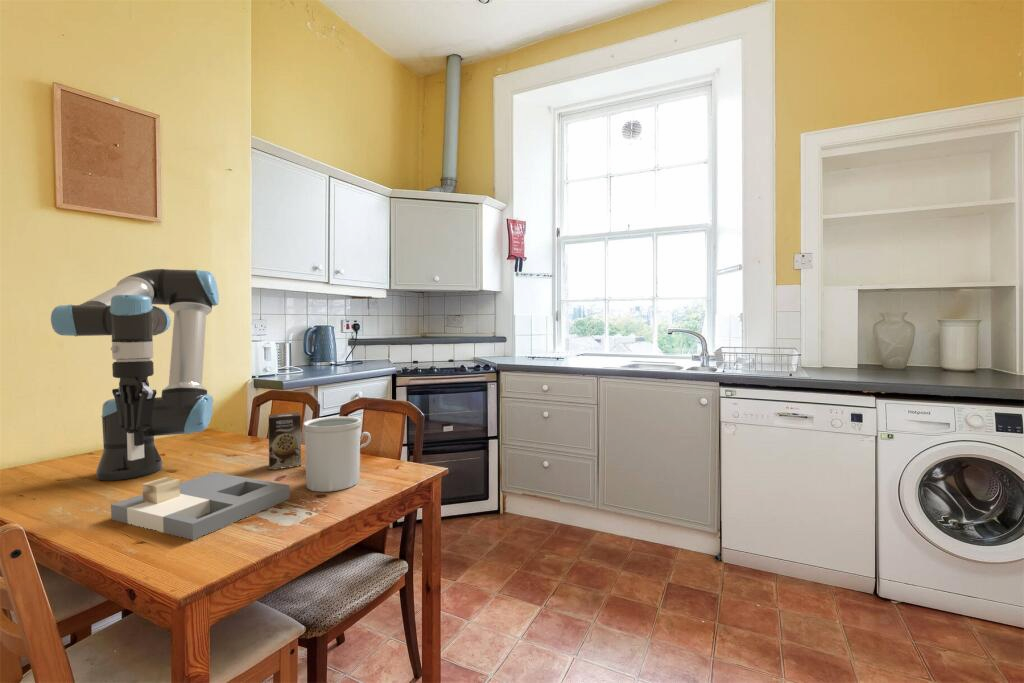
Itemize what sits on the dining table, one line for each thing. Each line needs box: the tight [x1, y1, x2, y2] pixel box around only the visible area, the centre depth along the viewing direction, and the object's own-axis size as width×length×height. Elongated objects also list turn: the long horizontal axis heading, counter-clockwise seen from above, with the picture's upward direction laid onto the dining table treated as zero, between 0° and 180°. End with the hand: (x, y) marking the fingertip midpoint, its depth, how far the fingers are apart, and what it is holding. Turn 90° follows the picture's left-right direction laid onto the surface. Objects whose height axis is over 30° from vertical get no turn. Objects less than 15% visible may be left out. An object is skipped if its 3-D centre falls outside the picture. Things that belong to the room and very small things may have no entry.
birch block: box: [142, 476, 181, 504], centre depth 107 cm, size 5×5×4 cm
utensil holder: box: [302, 416, 362, 493], centre depth 126 cm, size 15×15×18 cm
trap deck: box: [110, 471, 291, 541], centre depth 109 cm, size 28×24×4 cm
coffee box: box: [268, 412, 302, 470], centre depth 143 cm, size 9×6×16 cm
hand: (136, 458), depth 109 cm, fingers closed
